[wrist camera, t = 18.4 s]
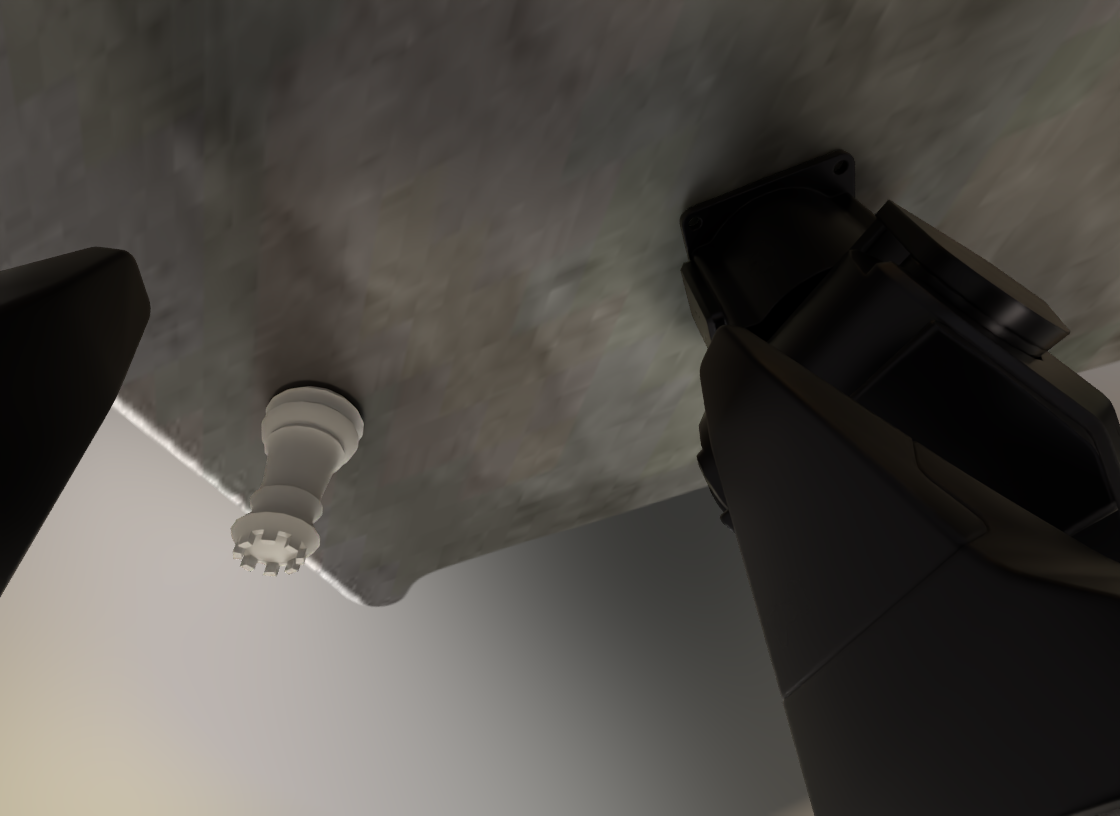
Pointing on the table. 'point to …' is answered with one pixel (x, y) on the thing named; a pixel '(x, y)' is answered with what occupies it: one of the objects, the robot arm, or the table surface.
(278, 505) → the rook chess piece
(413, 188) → the table surface
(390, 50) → the table surface
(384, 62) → the table surface
